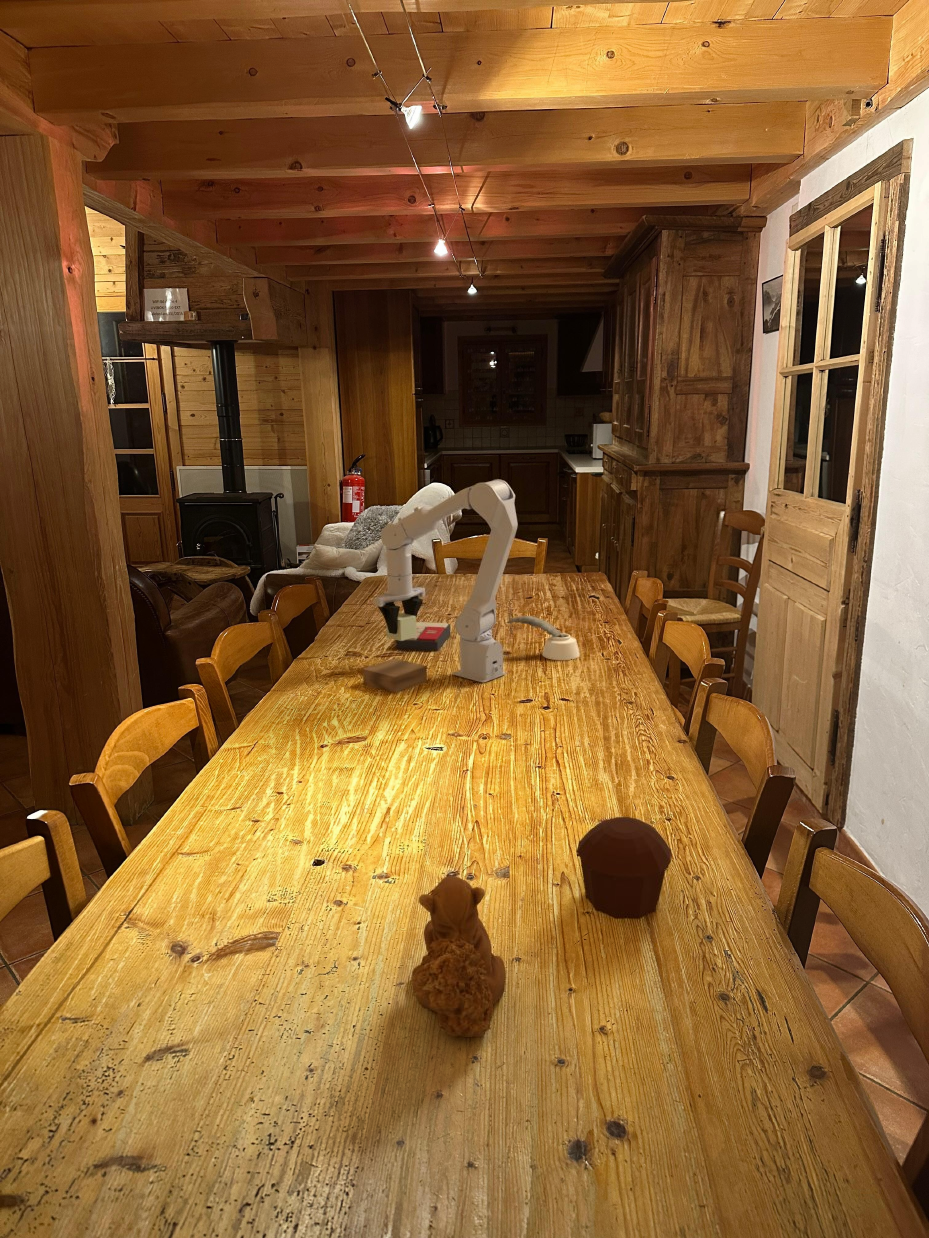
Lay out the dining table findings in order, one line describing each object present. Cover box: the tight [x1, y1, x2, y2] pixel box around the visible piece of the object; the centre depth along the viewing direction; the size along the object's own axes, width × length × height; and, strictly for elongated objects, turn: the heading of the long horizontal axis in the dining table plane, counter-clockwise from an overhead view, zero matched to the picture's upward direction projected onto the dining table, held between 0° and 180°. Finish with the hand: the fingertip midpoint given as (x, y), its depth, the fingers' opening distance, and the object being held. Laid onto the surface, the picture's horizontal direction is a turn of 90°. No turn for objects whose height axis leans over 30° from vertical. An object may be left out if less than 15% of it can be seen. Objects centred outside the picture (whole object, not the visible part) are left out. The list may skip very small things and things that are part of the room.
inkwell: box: [506, 615, 581, 661], centre depth 204 cm, size 9×18×10 cm, turn 91°
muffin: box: [576, 816, 672, 920], centre depth 102 cm, size 12×11×10 cm
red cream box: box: [395, 621, 452, 652], centre depth 218 cm, size 11×4×15 cm
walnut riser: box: [362, 658, 428, 694], centre depth 186 cm, size 10×10×4 cm
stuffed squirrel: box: [409, 875, 507, 1038], centre depth 83 cm, size 10×14×13 cm
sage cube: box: [385, 612, 417, 641], centre depth 197 cm, size 5×5×5 cm
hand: (401, 630), depth 197 cm, fingers closed on sage cube, 5 cm apart
